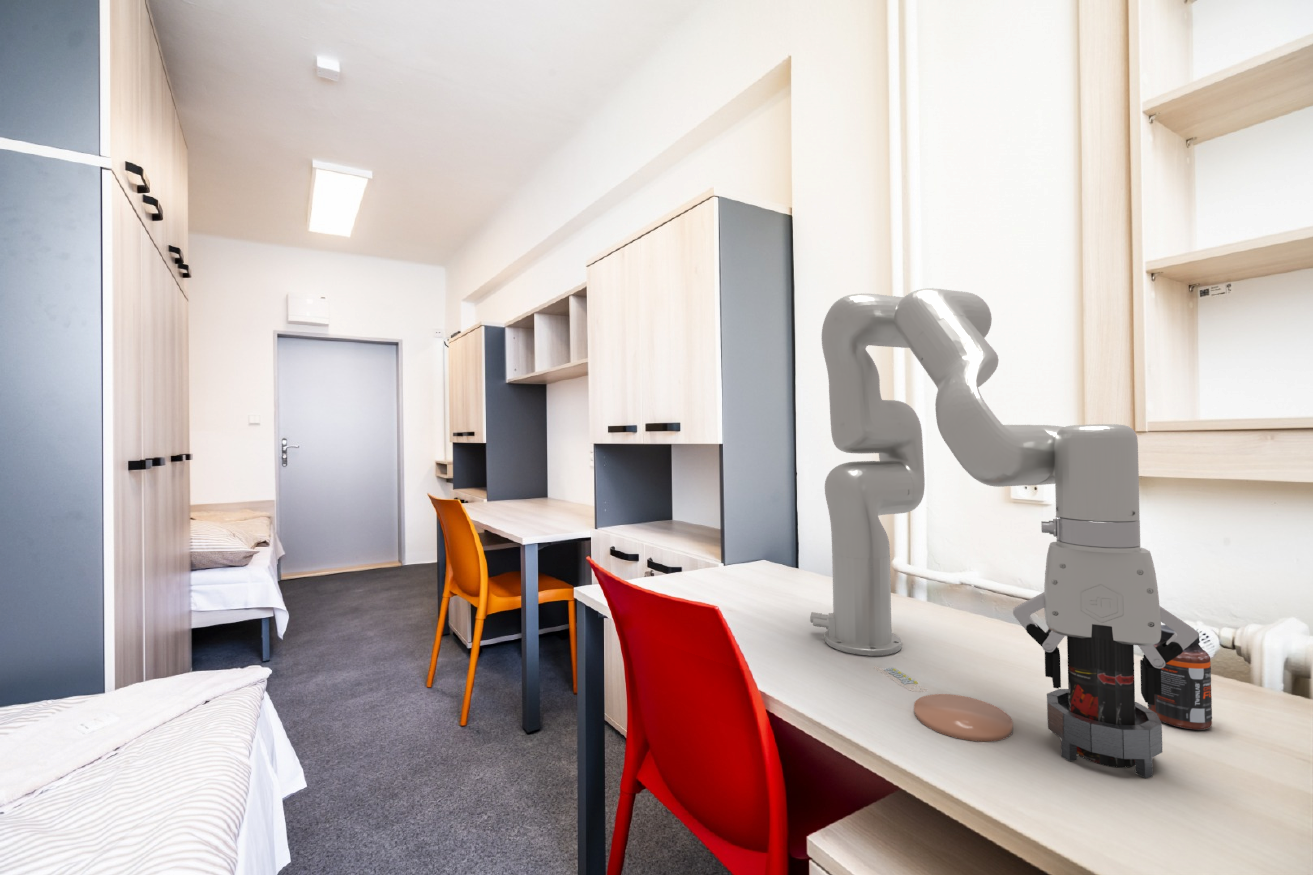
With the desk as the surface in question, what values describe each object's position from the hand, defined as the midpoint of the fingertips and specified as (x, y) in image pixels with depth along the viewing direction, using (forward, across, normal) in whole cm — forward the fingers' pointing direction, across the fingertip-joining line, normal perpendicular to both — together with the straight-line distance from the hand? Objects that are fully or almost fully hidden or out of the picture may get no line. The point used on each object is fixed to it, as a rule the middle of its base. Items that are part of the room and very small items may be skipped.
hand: (1100, 690), depth 65 cm
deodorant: (+7, 0, 0) cm, 7 cm away
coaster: (+7, -14, +1) cm, 16 cm away
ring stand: (+7, 0, 0) cm, 7 cm away
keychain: (+7, -23, +11) cm, 27 cm away
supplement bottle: (+7, +9, +14) cm, 18 cm away
